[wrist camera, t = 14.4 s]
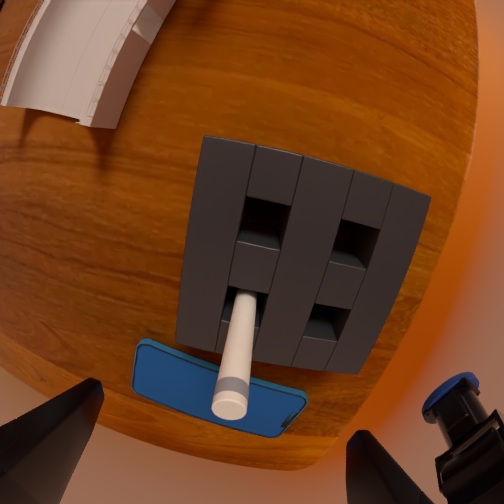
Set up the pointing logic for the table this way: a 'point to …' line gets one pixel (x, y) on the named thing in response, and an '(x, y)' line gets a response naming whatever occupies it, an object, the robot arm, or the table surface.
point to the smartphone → (210, 391)
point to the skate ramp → (84, 57)
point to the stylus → (236, 359)
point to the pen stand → (294, 255)
